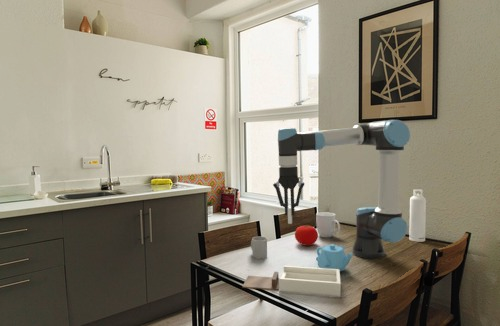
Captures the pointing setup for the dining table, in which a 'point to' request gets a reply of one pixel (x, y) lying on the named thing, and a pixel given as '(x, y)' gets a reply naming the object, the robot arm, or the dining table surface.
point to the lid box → (310, 281)
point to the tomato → (306, 235)
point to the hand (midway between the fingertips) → (290, 222)
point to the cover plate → (262, 282)
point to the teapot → (333, 257)
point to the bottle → (417, 216)
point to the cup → (259, 247)
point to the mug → (326, 224)
